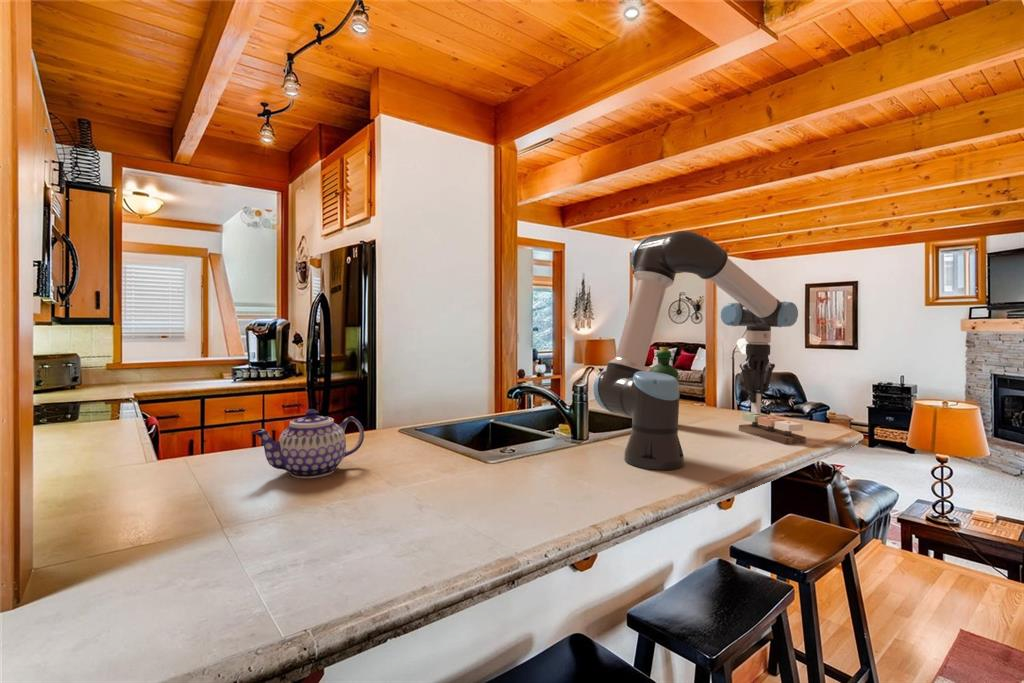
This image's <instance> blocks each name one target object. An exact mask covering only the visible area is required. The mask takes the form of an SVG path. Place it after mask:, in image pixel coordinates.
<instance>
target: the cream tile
mask: <svg viewBox="0 0 1024 683" xmlns="http://www.w3.org/2000/svg"><path fill="white" fill-rule="evenodd" d="M774 428H775V429H779V430H783V431H785V436H788V437H791V435H792V433H793V432H802V431H804V429H803V428H804V423H800V422H796V421H791V420H785V421H775V426H774Z"/></svg>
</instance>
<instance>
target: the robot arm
mask: <svg viewBox="0 0 1024 683" xmlns="http://www.w3.org/2000/svg"><path fill="white" fill-rule="evenodd" d="M630 263H631V268H632V270H633V271H634V272H633V277H634V279H635V280H636V284H635V287H634V290H633V295H632V298H631V300H630V305H629V308H628V312H627V315H626V319H625V322H624V326H623V330H622V332H621V337H620V340H619V343H618V345H617V346H618V347H617V350H616V354H615V357H614V358H613V359H611V360H610V361H608V363H607V365H606V370H604V371H602V372H600V374H598V375H597V376H596V377H595V380H594V382H593V386H592V387H593V389H592V390H593V396H594V399H595V400H596V403H597V404H598V405H599V406H600V408H602V409H604V410H605V411H608V412H610V413H613V414H618V415H624V416H627V417H630V418H632V420H631V433H630V436H629V438H628V441H627V444H626V447H625V449H624V456H623V457H624V461H625V462H626V463H627V464H629V465H631V466H634V467H638V468H642V469H648V470H657V471H670V470H671V471H672V470H679V469H680V468H683V467H684V466H685V454H684V452H683V448H682V446H681V442H680V438H679V414H680V413H679V412H680V409H679V408H680V384H679V380H678V381H677V379H676V378H674V377H673V376H670V375H667V374H664V373H657V372H652V371H650V370H647V368H646V366H645V365H646V362H647V358H648V354H649V351H650V347H651V345H652V340H653V337H654V333H655V330H656V326H657V322H658V319H659V315H660V311H661V309H662V308H661V307H662V304H663V301H664V296H665V293H666V290H667V289H668V288H669V287H671V286H673V285H674V280H675V278H676V274H682V273H688V274H694V275H696V276H697V277H699V278H700V279H702V280H709V281H710V282H712V283H713V284H714V285H715V286H717V287H718V288H720V289H721V290H722V291H723V292H725V293H726V294H727V295H729V296H730V297H731V298H732V299H734V300H735V301H737V302H729V303H726V304H724V305H723V307H722V308H721V310H720V319H721V322H722V323H724V325H726V326H731V327H746V330H745V331H746V334H745V342H746V344H745V355H746V358H745V361H744V362H743V363H740V364H739V368H740V370H741V373H742V380H743V386H744V391H745V392H747V393H749V401H750V407H751V408H750V413H759V414H761V409H762V408H761V407H762V403H763V395H765V394H766V392H768V391H769V387H770V384H771V378H772V374H773V370H774V369H775V367H776V364H774V363H772V362H770V358H769V356H770V355H771V344H770V343H771V341H772V340H771V339H772V338H771V337H772V327H774V328H783V327H785V328H786V327H792V326H794V325H795V323H797V320H798V317H799V309H798V307H797V304H796V303H794V302H791V301H785V300H784V301H780V300H779V299H778V298H776V297H775V296H774V295H773V294H771V293H770V291H768V290H767V289H765V288H764V287H763V286H762V285H761V284H759V282H757V281H756V280H755V279H754V278H752V277H751V276H750V275H749V274H748V273H747V272H745V271H744V270H743V269H742V268H740V267H739V266H738V265H737V264H736V263H734V262H733V261H732V260H731V259H730V258H729V254H728V252H727V251H726V250H725V249H724V248H723V247H721V246H720V245H719V244H717V243H716V242H715V241H713V240H712V239H710V238H708V237H706V236H704V235H701V234H699V233H697V232H694V231H690V230H678V231H674V232H669V233H668V232H667V233H664V234H663V233H662V234H660V235H658V234H657V235H656V234H655V235H650V236H648V237H645V238H643V239H641V240H639V241H638V242H637V243H636V244H635V246H634V247H633V249H632V251H631V255H630Z"/></svg>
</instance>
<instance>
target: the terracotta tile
mask: <svg viewBox="0 0 1024 683" xmlns="http://www.w3.org/2000/svg"><path fill="white" fill-rule="evenodd" d="M775 421H786V419H785V418H784V419H783V418H780V417H775V416H768V417H758V424H760V425H764V426H768V431H770V432H774V428H775Z"/></svg>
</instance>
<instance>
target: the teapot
mask: <svg viewBox="0 0 1024 683" xmlns="http://www.w3.org/2000/svg"><path fill="white" fill-rule="evenodd" d="M317 414H318V410H316V409H314V408H309V409H307V410H306V411H305V415H306V416H303V417H298V418H297V417H296V418H294V419H291V420H289V425H288V427H286V429H284V430H283V431H282V433H281V434H280V435H279V439H278V440H277V441H275V440H274V439H273V437H272V436H271V435H270V433H269V432H268V431H267V430H266V429H264V428H261V429H257V430H254V431H253V435H256V436H258V437H260V439H261V442H262V446H263V449H264V454H265V459H266V460H267V463H268V465H270V467H272V468H275V469H277V470H283V471H287V472H288V473H289V474H290V475H291V476H292V477H294V478H298V479H315V478H321V477H325V476H328V475H331V474H332V473H334V472H335V470H336V469H337V467H338V466H339V465H340V463H341V462H342V461H343V459H344V458H346V457H348V456H351V455H352V454H354V453H356V452H357V451H358V450H359V449H360V448H361V446H362V444H363V443H364V439H365V431H364V427H363V425H362V423H361V422H360V421H359V420H358V418H355V417H354V416H348V417H346V418H345V419H344V420H343V421H342V422H341V423H339V424H337V423H335V422H334V421H335V419H334V418H332V417H329V416H323V415H317ZM350 422H353V423H355V425H356V426H357V429H358V431H359V438H358V441H356V442H357V443H355V445H354V446H353V447H352V448H350V449H346V448H347V440H346V434H345V430H346V428H347V425H348V424H349V423H350Z"/></svg>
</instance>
